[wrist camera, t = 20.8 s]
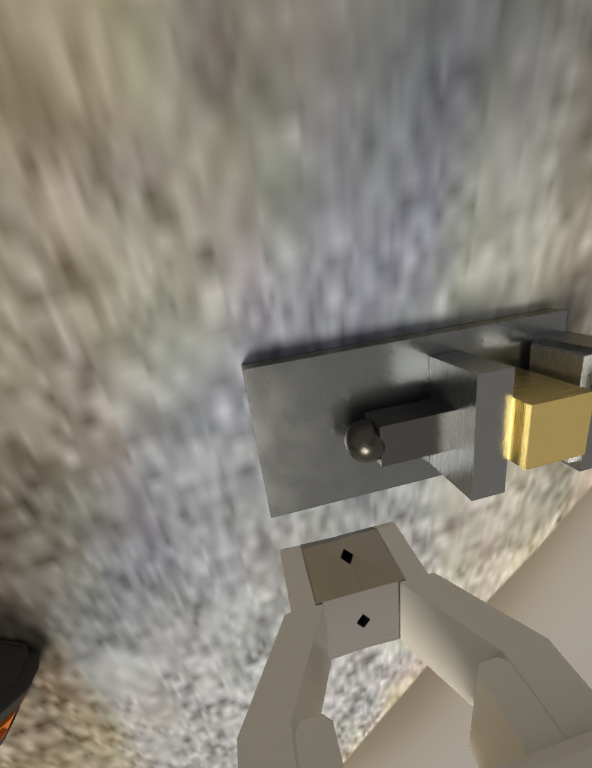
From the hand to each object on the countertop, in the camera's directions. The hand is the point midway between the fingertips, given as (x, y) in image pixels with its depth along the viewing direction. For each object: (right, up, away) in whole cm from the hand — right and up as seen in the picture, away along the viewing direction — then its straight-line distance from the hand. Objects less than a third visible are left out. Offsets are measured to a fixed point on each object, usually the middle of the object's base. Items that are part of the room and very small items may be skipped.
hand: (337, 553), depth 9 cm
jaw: (+7, +2, +17) cm, 18 cm away
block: (+14, +3, +18) cm, 23 cm away
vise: (+8, +3, +19) cm, 20 cm away
